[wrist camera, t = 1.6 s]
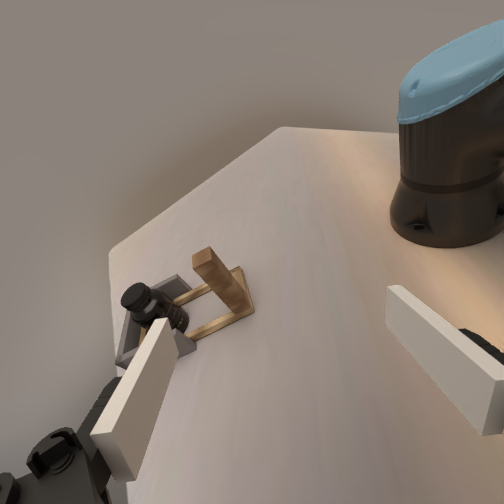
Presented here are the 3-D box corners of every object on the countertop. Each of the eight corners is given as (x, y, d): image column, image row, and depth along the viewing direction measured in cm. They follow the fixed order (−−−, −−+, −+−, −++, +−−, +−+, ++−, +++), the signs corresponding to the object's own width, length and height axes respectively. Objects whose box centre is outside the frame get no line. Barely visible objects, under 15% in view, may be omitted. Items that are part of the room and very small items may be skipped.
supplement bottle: (154, 340, 49) (107, 310, 41) (171, 309, 53) (131, 276, 45) (179, 345, 45) (132, 313, 37) (195, 312, 49) (156, 276, 41)
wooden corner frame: (150, 362, 45) (84, 325, 36) (155, 314, 53) (102, 274, 44) (254, 311, 43) (211, 259, 34) (242, 270, 51) (205, 218, 42)
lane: (140, 376, 44) (114, 364, 40) (148, 312, 55) (129, 298, 51) (196, 349, 43) (175, 334, 39) (193, 290, 54) (176, 273, 50)
